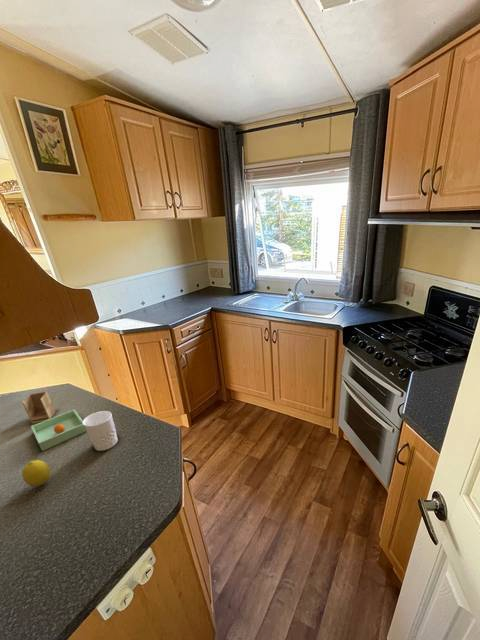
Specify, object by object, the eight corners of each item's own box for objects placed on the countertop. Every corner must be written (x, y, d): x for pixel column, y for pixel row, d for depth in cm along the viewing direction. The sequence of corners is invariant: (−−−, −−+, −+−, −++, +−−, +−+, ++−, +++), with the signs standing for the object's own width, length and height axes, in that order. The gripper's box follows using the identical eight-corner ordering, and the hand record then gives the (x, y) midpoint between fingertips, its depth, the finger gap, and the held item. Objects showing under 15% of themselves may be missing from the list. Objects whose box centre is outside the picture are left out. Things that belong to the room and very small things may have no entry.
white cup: (91, 455, 88) (80, 429, 84) (93, 440, 95) (84, 414, 91) (119, 447, 91) (110, 421, 87) (120, 433, 98) (112, 408, 94)
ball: (57, 435, 97) (65, 433, 100) (60, 427, 96) (68, 426, 99) (50, 431, 97) (58, 430, 100) (53, 423, 97) (61, 422, 100)
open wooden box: (38, 414, 110) (29, 394, 107) (55, 411, 112) (47, 391, 108) (32, 423, 105) (22, 402, 101) (50, 420, 107) (41, 399, 103)
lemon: (58, 481, 80) (47, 458, 76) (35, 495, 76) (23, 473, 72) (48, 473, 83) (37, 451, 79) (25, 487, 78) (13, 465, 75)
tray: (42, 450, 91) (38, 443, 90) (34, 433, 100) (30, 426, 99) (87, 430, 100) (85, 423, 99) (76, 415, 108) (74, 409, 107)
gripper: (20, 324, 118) (1, 336, 104) (60, 319, 122) (47, 330, 108) (27, 341, 121) (9, 355, 107) (66, 336, 125) (54, 349, 111)
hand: (28, 343), depth 107 cm, fingers open, 8 cm apart
